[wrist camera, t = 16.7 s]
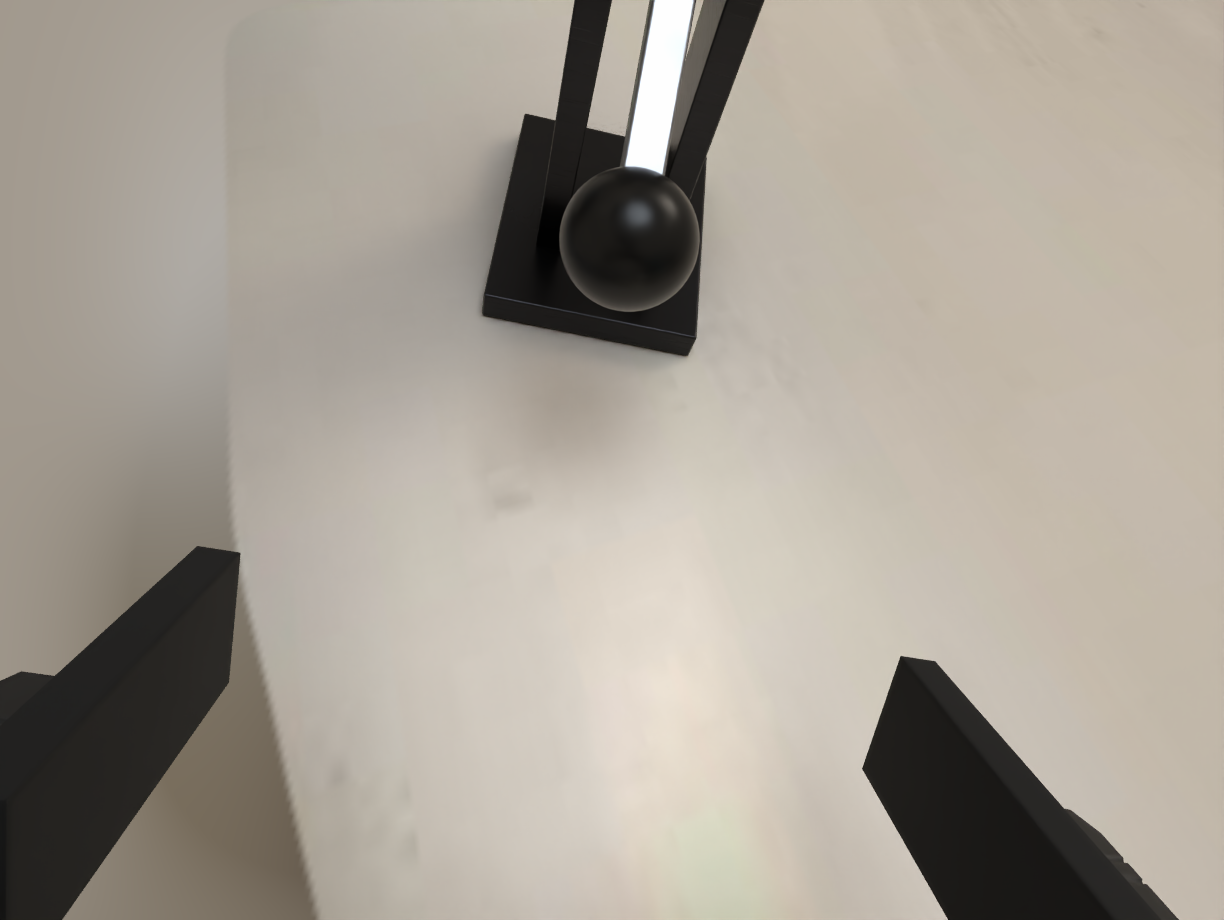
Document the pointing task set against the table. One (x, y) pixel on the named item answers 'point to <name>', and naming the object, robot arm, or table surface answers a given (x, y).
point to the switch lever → (638, 188)
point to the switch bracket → (572, 154)
